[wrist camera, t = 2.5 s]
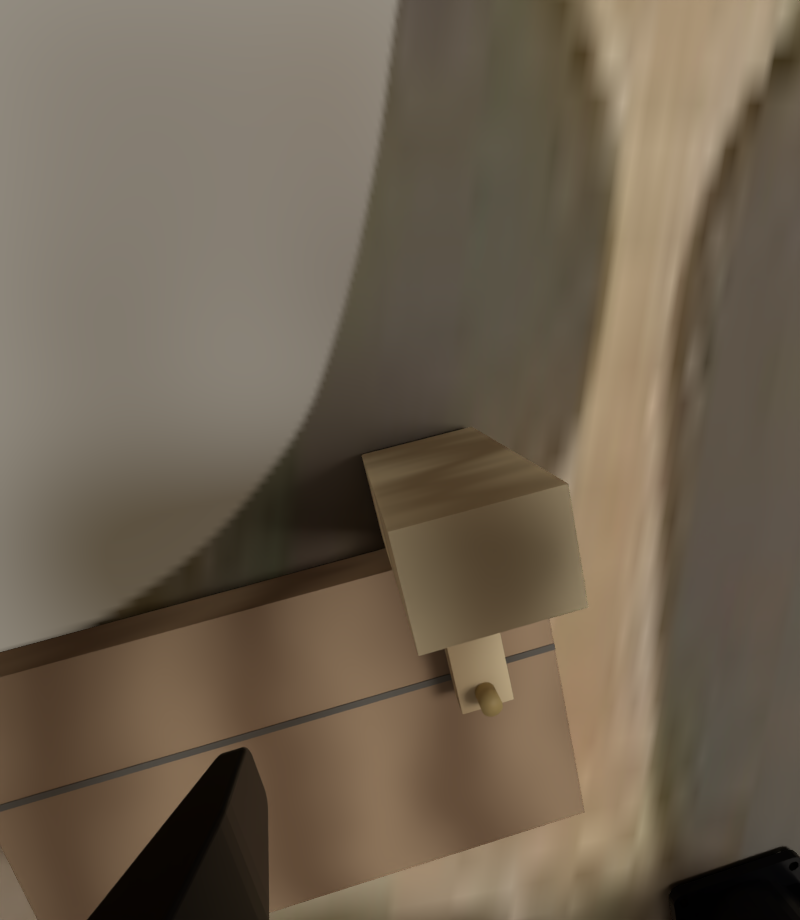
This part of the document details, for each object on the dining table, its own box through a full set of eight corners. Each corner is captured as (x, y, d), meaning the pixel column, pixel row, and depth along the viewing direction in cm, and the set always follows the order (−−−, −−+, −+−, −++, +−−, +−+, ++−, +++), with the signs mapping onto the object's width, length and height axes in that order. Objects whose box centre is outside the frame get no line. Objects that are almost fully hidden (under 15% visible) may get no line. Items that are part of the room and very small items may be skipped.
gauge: (471, 426, 20) (568, 483, 12) (515, 643, 22) (621, 810, 14) (361, 454, 19) (388, 531, 12) (416, 671, 21) (469, 859, 14)
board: (513, 513, 21) (533, 531, 19) (563, 773, 24) (585, 813, 22) (-35, 661, 19) (-75, 698, 17) (88, 921, 22) (65, 978, 20)
